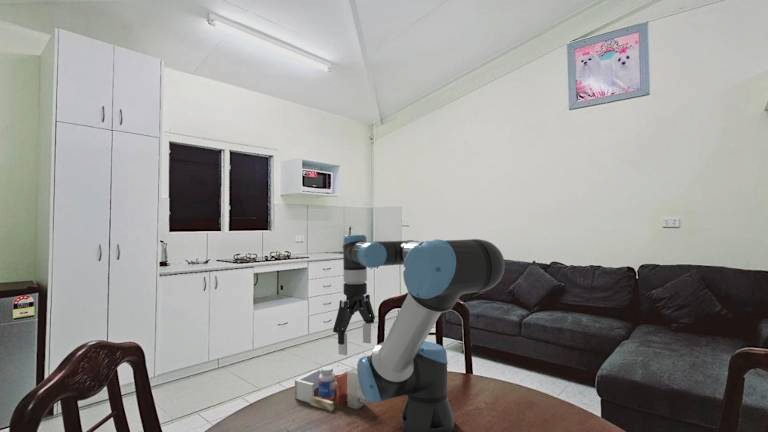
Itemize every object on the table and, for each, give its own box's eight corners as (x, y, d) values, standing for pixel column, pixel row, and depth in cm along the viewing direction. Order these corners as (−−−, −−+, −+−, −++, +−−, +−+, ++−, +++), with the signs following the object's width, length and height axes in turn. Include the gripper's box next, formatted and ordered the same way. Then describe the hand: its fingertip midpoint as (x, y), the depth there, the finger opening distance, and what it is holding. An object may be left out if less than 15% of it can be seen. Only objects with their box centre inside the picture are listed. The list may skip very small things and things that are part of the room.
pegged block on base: (371, 404, 125) (371, 369, 125) (361, 412, 119) (360, 376, 120) (347, 398, 129) (347, 364, 130) (336, 405, 124) (336, 370, 125)
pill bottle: (315, 398, 129) (315, 369, 129) (324, 392, 134) (324, 364, 134) (328, 402, 126) (328, 372, 127) (338, 395, 131) (337, 366, 132)
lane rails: (357, 394, 132) (357, 387, 132) (331, 411, 120) (331, 403, 120) (336, 388, 137) (336, 382, 137) (309, 404, 125) (309, 397, 125)
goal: (334, 389, 136) (334, 372, 136) (311, 403, 126) (311, 384, 126) (318, 385, 140) (318, 368, 140) (294, 398, 129) (294, 380, 130)
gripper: (366, 277, 138) (366, 337, 137) (321, 286, 116) (321, 357, 116) (384, 278, 134) (384, 340, 134) (341, 288, 113) (341, 362, 112)
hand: (355, 348), depth 125 cm, fingers open, 13 cm apart
